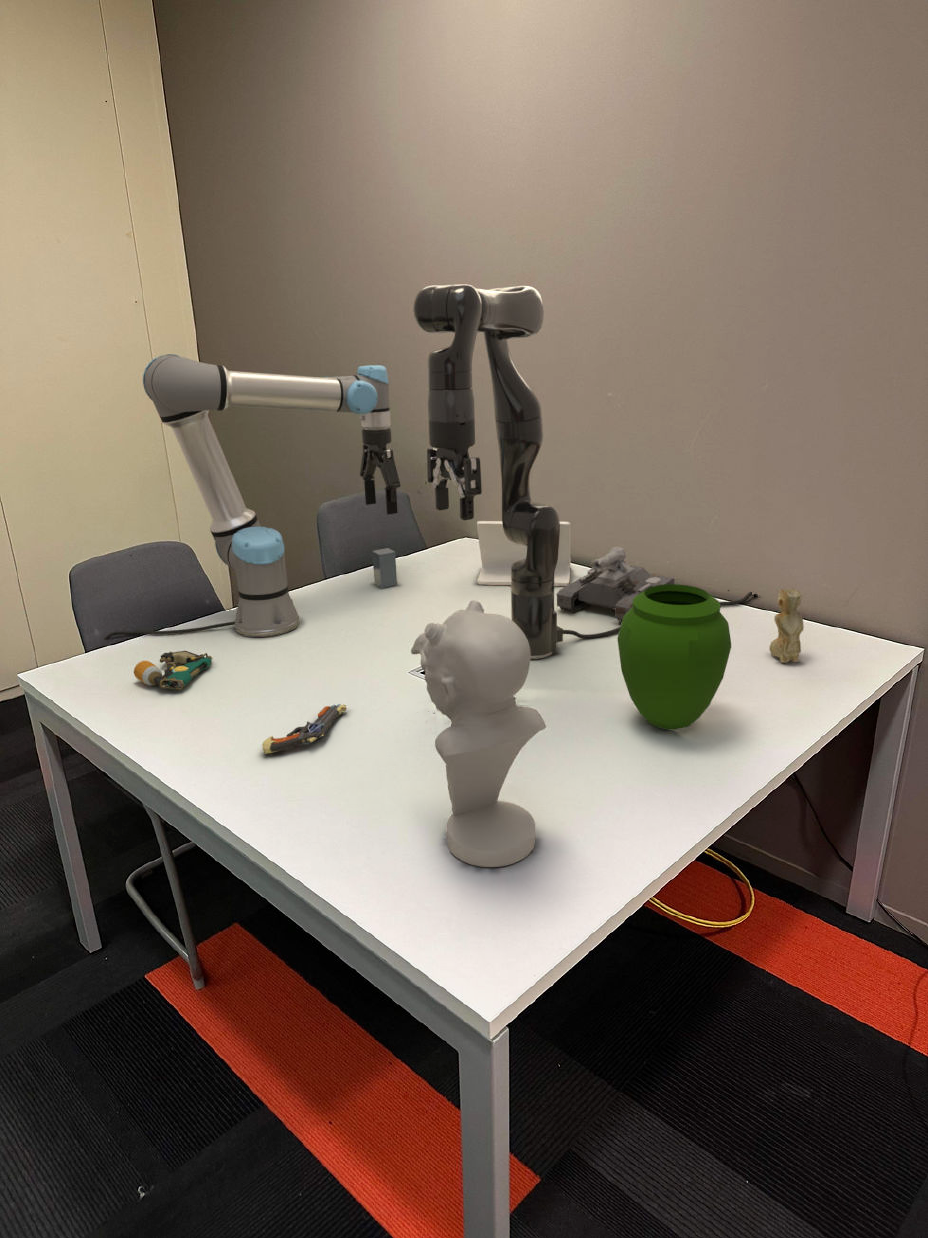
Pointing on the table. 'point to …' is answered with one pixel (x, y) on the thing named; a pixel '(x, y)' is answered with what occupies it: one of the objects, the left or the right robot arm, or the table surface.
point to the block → (384, 568)
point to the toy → (609, 585)
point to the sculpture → (788, 626)
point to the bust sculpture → (481, 729)
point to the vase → (673, 653)
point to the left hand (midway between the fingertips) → (381, 508)
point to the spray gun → (172, 669)
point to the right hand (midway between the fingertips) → (454, 514)
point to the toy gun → (305, 731)
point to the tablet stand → (515, 554)
